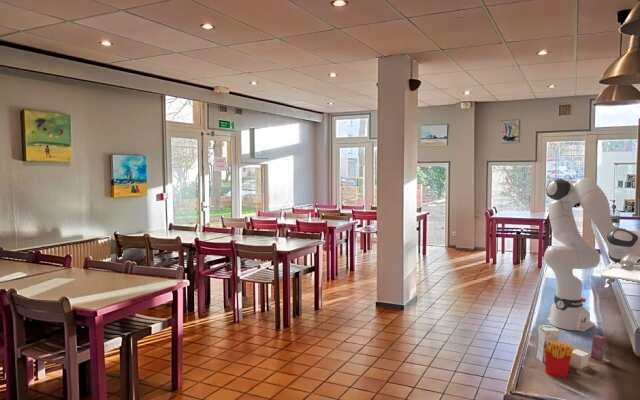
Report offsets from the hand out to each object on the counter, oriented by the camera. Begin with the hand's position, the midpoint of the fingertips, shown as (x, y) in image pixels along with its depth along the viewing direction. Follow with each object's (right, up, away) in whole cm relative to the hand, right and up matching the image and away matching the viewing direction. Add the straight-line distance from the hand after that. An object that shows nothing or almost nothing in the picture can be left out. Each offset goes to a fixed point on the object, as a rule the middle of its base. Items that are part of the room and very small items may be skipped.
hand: (616, 290), depth 205 cm
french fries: (-33, -29, -18) cm, 47 cm away
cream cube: (-20, -27, -9) cm, 35 cm away
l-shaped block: (-17, -28, -7) cm, 34 cm away
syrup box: (-31, -28, -5) cm, 42 cm away
